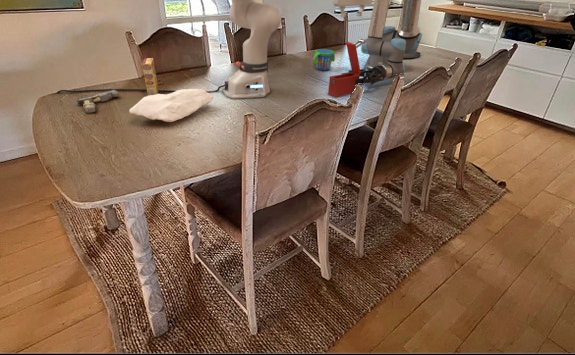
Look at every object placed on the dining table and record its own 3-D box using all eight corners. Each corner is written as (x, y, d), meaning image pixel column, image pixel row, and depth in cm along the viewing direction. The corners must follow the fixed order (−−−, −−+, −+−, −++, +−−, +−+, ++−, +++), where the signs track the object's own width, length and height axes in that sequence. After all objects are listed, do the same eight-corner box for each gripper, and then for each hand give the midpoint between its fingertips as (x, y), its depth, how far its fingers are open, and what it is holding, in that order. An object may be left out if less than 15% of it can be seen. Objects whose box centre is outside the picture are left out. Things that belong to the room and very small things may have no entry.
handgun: (128, 97, 156) (111, 87, 164) (86, 107, 144) (70, 97, 152) (129, 103, 157) (113, 94, 165) (88, 114, 146) (72, 103, 154)
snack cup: (328, 65, 219) (329, 47, 214) (339, 69, 212) (341, 51, 206) (307, 68, 212) (308, 50, 206) (318, 73, 204) (319, 54, 199)
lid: (353, 45, 164) (366, 35, 166) (345, 42, 168) (358, 33, 170) (359, 74, 175) (371, 65, 177) (351, 71, 178) (363, 62, 180)
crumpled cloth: (117, 110, 146) (113, 90, 140) (195, 92, 166) (194, 73, 160) (143, 139, 134) (140, 118, 128) (223, 116, 154) (224, 96, 148)
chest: (335, 97, 173) (337, 79, 168) (328, 94, 176) (329, 76, 171) (357, 92, 180) (359, 74, 175) (350, 89, 184) (352, 72, 179)
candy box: (157, 97, 164) (152, 63, 155) (147, 98, 163) (141, 63, 155) (158, 91, 171) (153, 57, 163) (149, 91, 170) (143, 58, 162)
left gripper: (342, -18, 144) (338, 19, 152) (377, -19, 155) (372, 16, 162) (331, -20, 149) (328, 17, 156) (367, -20, 159) (362, 14, 166)
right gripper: (395, 86, 182) (363, 93, 171) (364, 74, 197) (333, 80, 186) (399, 71, 178) (366, 77, 167) (366, 60, 193) (334, 65, 182)
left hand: (351, 16), depth 159 cm, fingers open, 8 cm apart
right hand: (348, 79), depth 176 cm, fingers open, 9 cm apart
